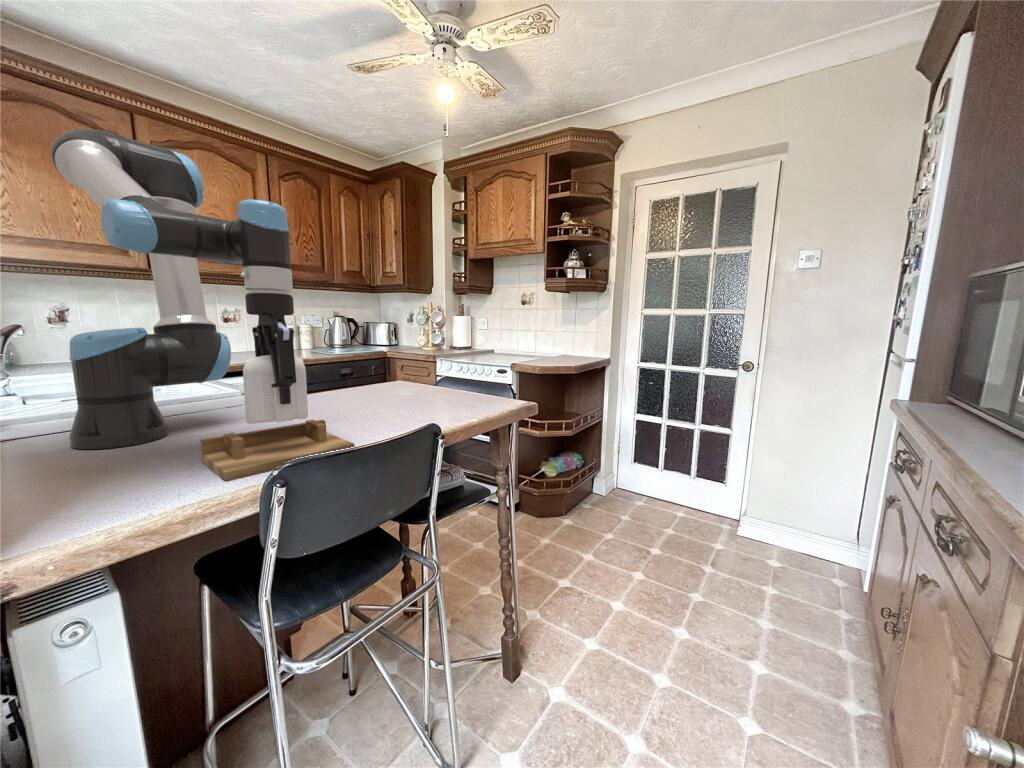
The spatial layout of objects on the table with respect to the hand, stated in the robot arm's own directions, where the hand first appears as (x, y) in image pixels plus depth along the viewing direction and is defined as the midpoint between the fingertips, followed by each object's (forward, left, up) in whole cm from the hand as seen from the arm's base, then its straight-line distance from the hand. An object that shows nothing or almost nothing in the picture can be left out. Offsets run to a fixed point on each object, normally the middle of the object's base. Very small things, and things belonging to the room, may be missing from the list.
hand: (278, 418), depth 78 cm
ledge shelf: (0, 0, -7) cm, 7 cm away
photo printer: (0, 0, -1) cm, 1 cm away
